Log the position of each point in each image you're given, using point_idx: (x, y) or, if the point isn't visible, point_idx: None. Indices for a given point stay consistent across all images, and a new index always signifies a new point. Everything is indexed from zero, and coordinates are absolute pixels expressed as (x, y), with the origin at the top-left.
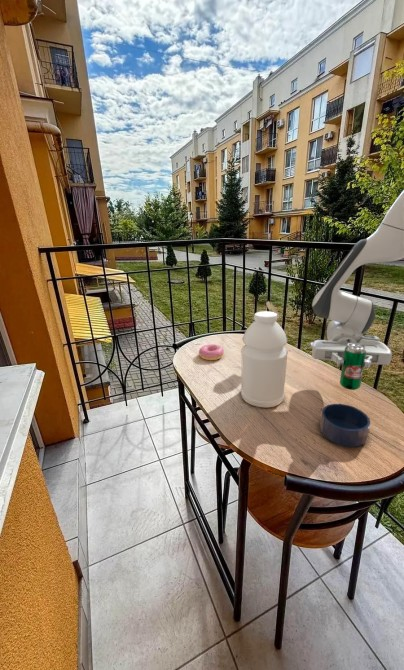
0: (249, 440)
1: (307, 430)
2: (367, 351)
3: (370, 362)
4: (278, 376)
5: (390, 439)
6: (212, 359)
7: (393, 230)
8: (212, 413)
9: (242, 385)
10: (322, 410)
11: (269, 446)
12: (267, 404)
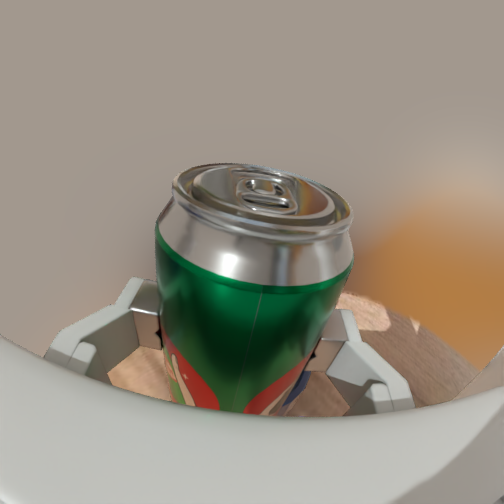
0: (405, 332)
1: (323, 377)
2: (48, 375)
3: (134, 278)
4: (473, 389)
5: (132, 361)
6: None
7: None
8: (476, 371)
9: None
10: (309, 371)
11: (375, 326)
12: None
